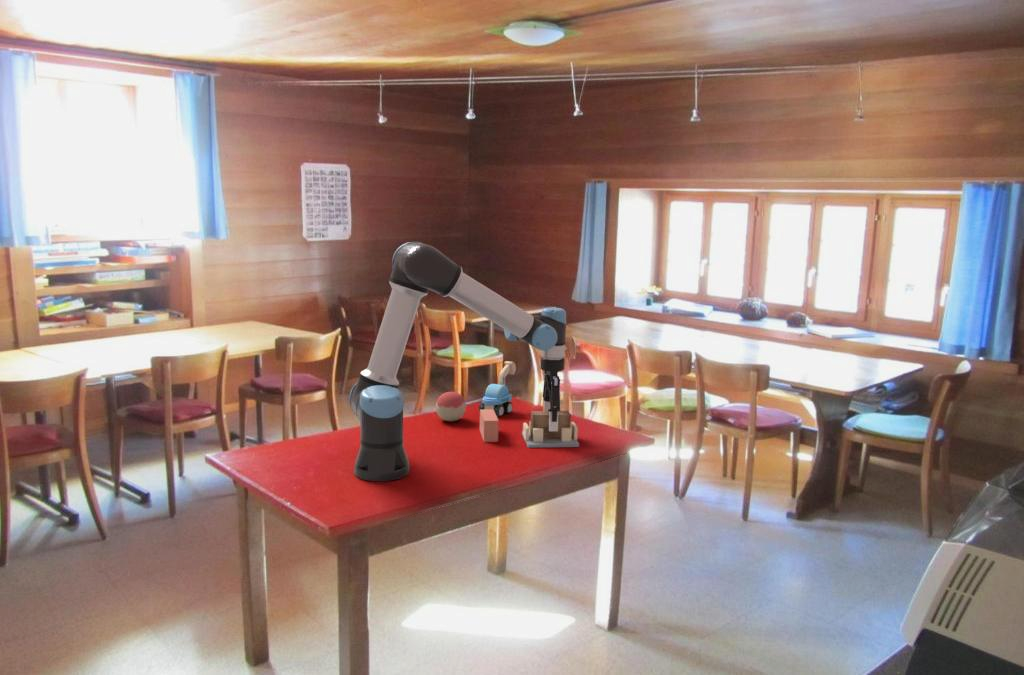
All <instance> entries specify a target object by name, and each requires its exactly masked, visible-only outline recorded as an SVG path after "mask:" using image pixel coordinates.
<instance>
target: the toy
mask: <svg viewBox="0 0 1024 675" xmlns="http://www.w3.org/2000/svg"><path fill="white" fill-rule="evenodd" d="M466 409H467V406H466V400H465V398H464V397H463V396H462V395H461V394H460V393H459V392H457V391H447V392H444V393H442V394H441V395H440V396H439V397H438V398H437V400H436V404H435V410H436V413H437V416H438V417H439V418H440V419H442V420H443V421H447V422H455V421H458V420H460V419H462V418H463V416H464V414H465V412H466Z"/></svg>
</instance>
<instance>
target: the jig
mask: <svg viewBox="0 0 1024 675" xmlns="http://www.w3.org/2000/svg"><path fill="white" fill-rule="evenodd" d="M528 424H529V425H528ZM530 426H531V420H530V421H529V423H527V422H523V423H522V431H521V435H522V437H523V440H524V441H525V444H526V446H527V448H533V449H534V448H575V447H576V448H579V447H580V443H579V442H578V433H579V432H578V431H579V427H578V425H577V424H576V423H575V422H574V421H571V422H570V428H561V439H543V428H533V440H532V438H531V436H530Z"/></svg>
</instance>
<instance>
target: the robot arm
mask: <svg viewBox="0 0 1024 675" xmlns="http://www.w3.org/2000/svg"><path fill="white" fill-rule="evenodd" d="M391 262H392V263H391V265H392V270H391V274H390V276H389V280H388V282H389V285H390V287H391V292H390V295H389V298H388V302H387V304H386V307H385V311H384V314H383V317H382V321H381V324H380V327H379V330H378V333H377V337H376V340H375V343H374V346H373V349H372V352H371V355H370V359H369V362H368V365H367V367H366V368H365V369H363V370H361V371H360V373H359V375H358V376H359V377H358V379H357V382H356V383H355V384H354V385H353V386H352V387H351V389H350V392H349V400H348V401H349V405H350V408H351V410H352V412H353V414H354V415H355V416H356V418H357V419H358V420H359V422H360V424H359V425H360V426H359V428H360V447H359V450H358V452H357V453H358V454H357V455H356V458H355V463H354V466H353V467H354V469H353V470H354V471H353V472H354V473H353V474H354V475H355V477H357V478H358V479H361V480H365V481H369V482H370V481H371V482H389V481H396V480H399V479H402V478H405V477H406V476H408V475H409V474H410V461H409V458H408V455H407V453H406V450H405V447H404V407H405V404H404V403H405V402H404V401H405V400H404V395H403V394H402V391H401V390H400V389H399V386H400V382H399V380H398V378H397V375H398V372H399V371H398V370H399V368H400V365H401V362H402V359H403V355H404V352H405V350H406V346H407V342H408V340H409V336H410V334H411V331H412V327H413V325H414V321H415V319H416V314H417V311H418V309H419V305H420V302H421V299H422V298H423V297H425V296H428V294H429V291H431V292H434V293H436V294H438V295H439V296H441V297H442V298H445V297H449V298H451V299H453V300H455V301H457V302H458V303H460V304H462V305H463V306H465V307H467V308H469V309H470V310H472V311H473V312H474V313H476V314H478V315H480V316H482V317H484V318H485V319H486V320H488V321H491V322H492V323H493V324H495V325H497V326H499V327H500V328H502V329H503V332H504V337H505V339H506V340H508V341H510V342H513V341H514V342H519V341H521V342H524V343H525V344H527V345H530V346H532V347H533V348H535V349H536V350H539V351H540V356H541V358H540V364H539V365H540V367H539V368H540V369H541V370H542V371H543V372H544V378H543V389H542V398H543V411H548V412H549V431H558V412H559V411H561V390H560V389H561V388H560V386H561V379H560V376H558V375H559V374H558V372H562V371H564V370H565V358H564V357H565V355H566V352H565V351H567V346H566V332H567V331H566V329H567V324H568V323H567V312H566V309H564V308H560V307H551V306H550V307H544V308H542V310H541V314H539V315H532V314H531V313H529V312H527V311H526V310H525V309H522V307H519V306H517V305H515V304H514V303H513V302H511V301H510V300H509V299H506V298H505V297H503V296H501V294H499V293H497V292H496V291H493V290H492V289H490V288H489V287H487V286H485V285H484V284H482V283H481V282H479V281H477V280H475V279H474V278H472V277H471V276H469V275H468V274H466V273H465V272H464V271H463V267H462V266H460V265H458V264H457V263H456V262H454V261H453V260H452V259H450V258H449V257H447V256H446V255H445V254H444V253H442V252H441V251H440V250H438V249H437V248H436V247H434V246H433V245H429V244H426V243H423V242H422V241H421V242H420V241H410V242H405V243H403V244H402V245H400V246H398V248H397V249H396V250H395V252H394V253H393V255H392V260H391Z"/></svg>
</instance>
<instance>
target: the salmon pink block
mask: <svg viewBox="0 0 1024 675" xmlns="http://www.w3.org/2000/svg"><path fill="white" fill-rule="evenodd" d="M479 432H480V435H481V438H482V441H483V443H492V442H493V443H496V442H499V418H498V416H496V414H495V412H494V409H483V410H480V412H479Z"/></svg>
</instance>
